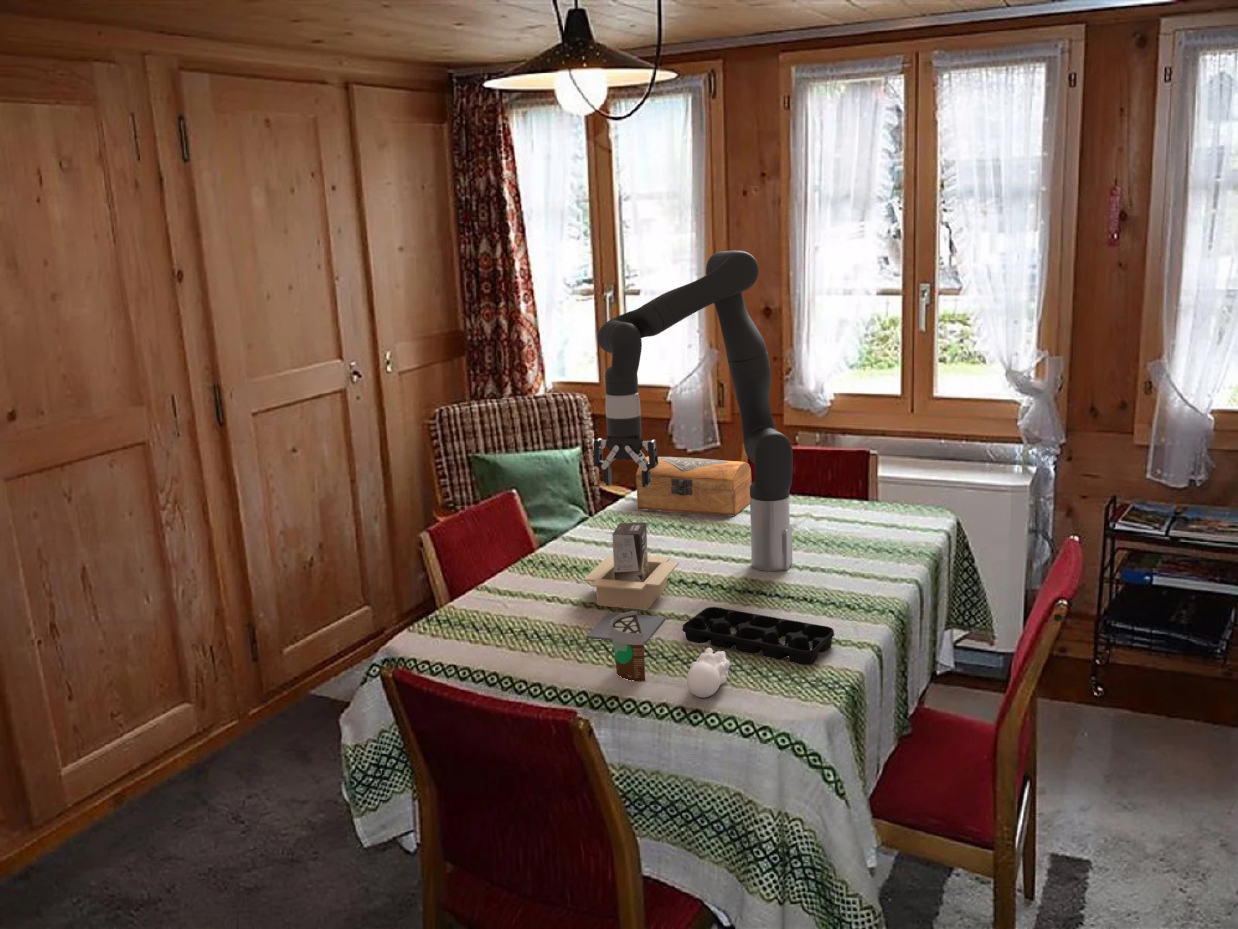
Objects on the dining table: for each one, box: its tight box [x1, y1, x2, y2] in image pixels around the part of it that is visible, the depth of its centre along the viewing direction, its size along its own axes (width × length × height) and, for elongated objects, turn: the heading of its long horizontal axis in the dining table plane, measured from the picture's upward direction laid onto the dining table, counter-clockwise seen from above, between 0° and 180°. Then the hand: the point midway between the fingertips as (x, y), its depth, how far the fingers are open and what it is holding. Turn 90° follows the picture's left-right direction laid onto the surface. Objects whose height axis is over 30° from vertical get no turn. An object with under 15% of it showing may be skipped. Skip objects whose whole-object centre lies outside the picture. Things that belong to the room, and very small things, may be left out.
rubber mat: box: [585, 611, 666, 645], centre depth 225 cm, size 13×13×1 cm
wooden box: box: [635, 455, 752, 516], centre depth 309 cm, size 30×16×14 cm, turn 64°
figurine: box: [685, 647, 731, 699], centre depth 196 cm, size 7×7×12 cm
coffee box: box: [611, 522, 649, 582], centre depth 242 cm, size 9×6×16 cm
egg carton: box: [681, 606, 835, 666], centre depth 215 cm, size 18×30×4 cm, turn 69°
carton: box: [583, 555, 679, 611], centre depth 243 cm, size 18×21×6 cm
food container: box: [608, 610, 646, 682], centre depth 204 cm, size 12×6×10 cm, turn 5°
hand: (627, 485), depth 237 cm, fingers open, 8 cm apart
